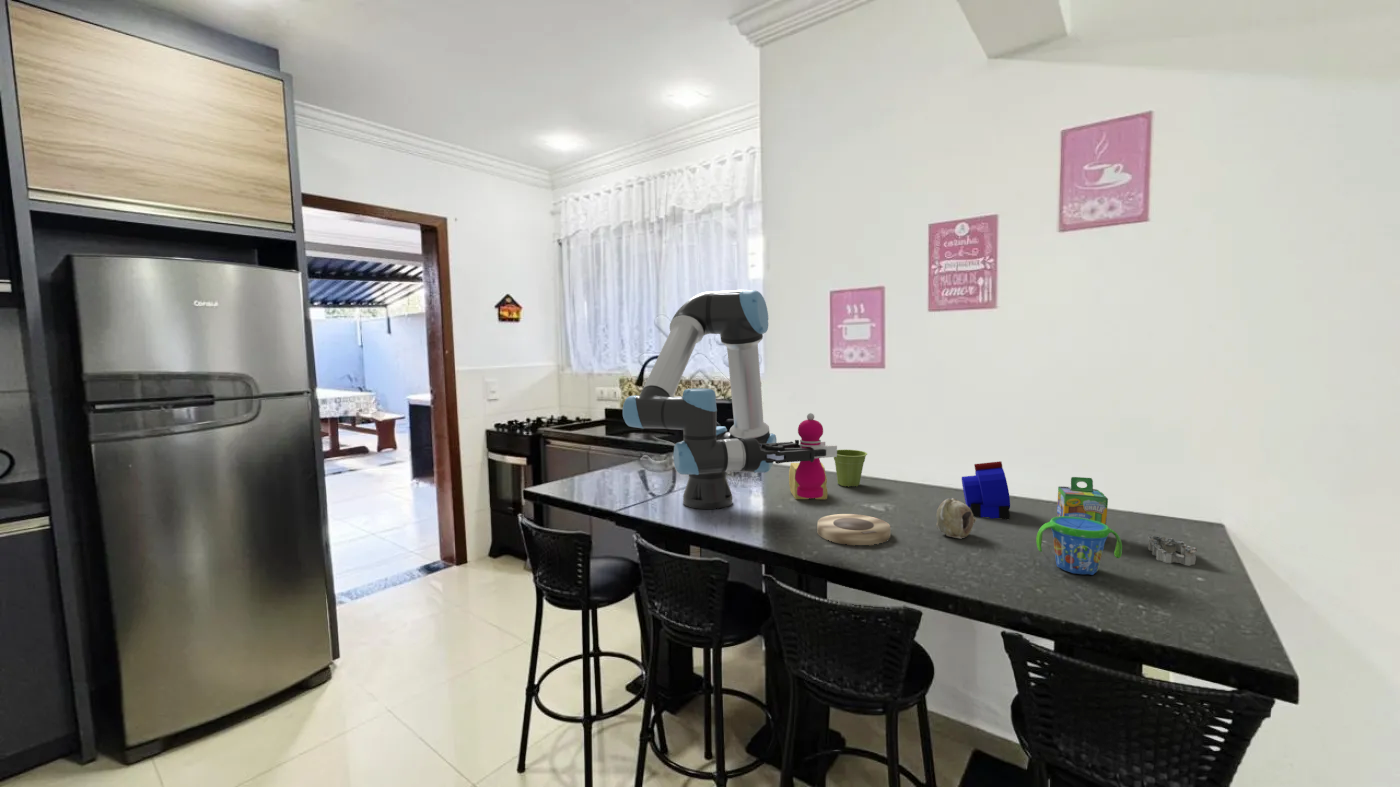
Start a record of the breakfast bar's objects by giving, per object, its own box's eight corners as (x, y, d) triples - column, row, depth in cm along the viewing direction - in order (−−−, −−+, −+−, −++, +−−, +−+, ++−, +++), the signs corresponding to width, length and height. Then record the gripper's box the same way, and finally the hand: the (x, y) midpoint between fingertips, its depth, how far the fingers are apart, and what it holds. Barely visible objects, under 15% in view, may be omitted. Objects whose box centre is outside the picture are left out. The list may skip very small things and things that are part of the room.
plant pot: (832, 488, 197) (832, 455, 196) (830, 480, 209) (830, 449, 208) (868, 489, 195) (869, 456, 194) (864, 481, 207) (865, 449, 206)
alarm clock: (1012, 520, 161) (1014, 466, 159) (963, 516, 165) (964, 463, 163) (1004, 508, 172) (1006, 457, 171) (959, 504, 176) (960, 455, 175)
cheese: (827, 499, 183) (828, 468, 182) (793, 500, 183) (793, 468, 182) (821, 491, 193) (821, 461, 193) (788, 491, 194) (788, 461, 193)
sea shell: (941, 546, 147) (929, 510, 146) (940, 531, 155) (928, 496, 153) (981, 540, 143) (969, 503, 142) (978, 524, 151) (966, 489, 150)
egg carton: (1198, 568, 126) (1199, 550, 126) (1154, 562, 130) (1155, 544, 129) (1186, 552, 135) (1187, 535, 135) (1145, 547, 139) (1146, 530, 139)
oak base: (804, 526, 156) (805, 517, 156) (864, 520, 161) (864, 511, 161) (840, 549, 139) (840, 538, 139) (905, 541, 144) (905, 530, 144)
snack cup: (1113, 565, 127) (1115, 519, 127) (1128, 584, 118) (1131, 534, 117) (1031, 556, 133) (1033, 512, 132) (1039, 573, 123) (1041, 526, 123)
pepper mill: (825, 499, 138) (825, 415, 137) (794, 498, 140) (794, 414, 138) (825, 492, 145) (826, 411, 144) (795, 490, 147) (796, 411, 145)
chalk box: (1062, 540, 144) (1064, 480, 143) (1055, 529, 152) (1057, 473, 151) (1106, 544, 141) (1109, 483, 139) (1096, 533, 149) (1099, 475, 148)
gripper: (727, 463, 146) (813, 457, 152) (754, 479, 128) (849, 471, 135) (727, 433, 145) (813, 428, 151) (754, 445, 128) (849, 439, 134)
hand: (830, 448), depth 143 cm, fingers closed on pepper mill, 5 cm apart
